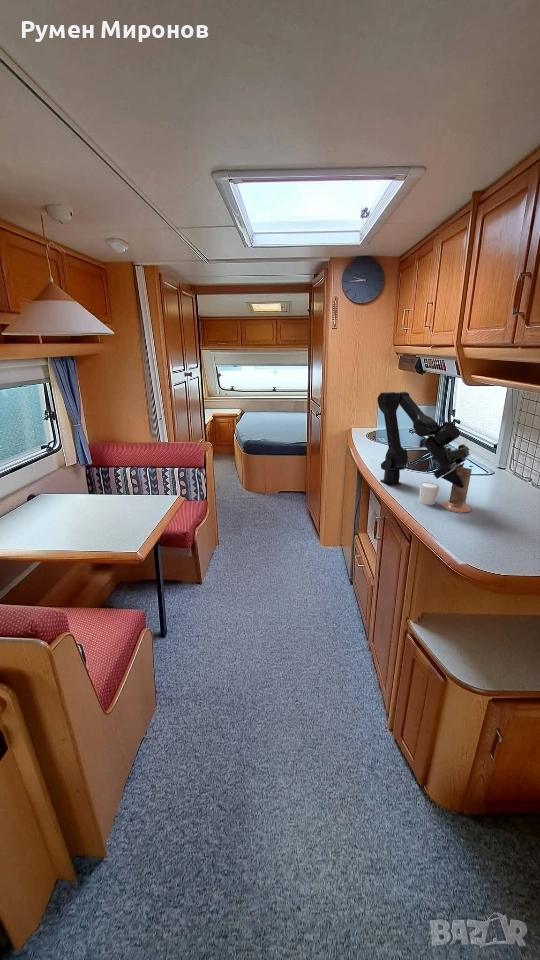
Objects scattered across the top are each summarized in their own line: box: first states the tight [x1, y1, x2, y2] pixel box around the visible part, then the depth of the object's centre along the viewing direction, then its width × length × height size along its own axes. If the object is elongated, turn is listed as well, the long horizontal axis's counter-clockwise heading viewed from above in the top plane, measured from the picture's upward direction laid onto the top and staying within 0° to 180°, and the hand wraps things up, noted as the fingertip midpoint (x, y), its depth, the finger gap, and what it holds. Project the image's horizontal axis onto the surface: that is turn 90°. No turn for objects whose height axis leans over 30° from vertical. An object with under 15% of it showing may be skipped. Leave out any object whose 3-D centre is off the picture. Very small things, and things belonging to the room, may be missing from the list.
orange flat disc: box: [441, 500, 472, 514], centre depth 148 cm, size 10×10×1 cm
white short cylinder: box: [418, 481, 440, 506], centre depth 152 cm, size 7×7×7 cm
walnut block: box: [448, 466, 473, 506], centre depth 146 cm, size 4×4×13 cm
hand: (464, 485), depth 145 cm, fingers open, 5 cm apart
